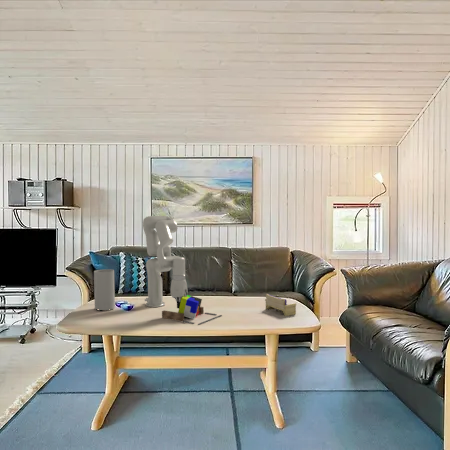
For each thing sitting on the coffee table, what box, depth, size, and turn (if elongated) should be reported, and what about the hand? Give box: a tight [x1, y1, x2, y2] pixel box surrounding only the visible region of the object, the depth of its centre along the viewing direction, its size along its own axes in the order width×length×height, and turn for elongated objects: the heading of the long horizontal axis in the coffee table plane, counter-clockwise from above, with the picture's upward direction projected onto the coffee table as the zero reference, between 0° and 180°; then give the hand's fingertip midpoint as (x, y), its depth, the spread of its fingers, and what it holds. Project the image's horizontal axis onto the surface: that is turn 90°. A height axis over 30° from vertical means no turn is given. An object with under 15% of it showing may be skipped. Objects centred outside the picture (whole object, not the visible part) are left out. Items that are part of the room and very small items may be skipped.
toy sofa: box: [264, 293, 297, 317], centre depth 249 cm, size 21×9×10 cm, turn 30°
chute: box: [161, 306, 205, 322], centre depth 242 cm, size 15×21×4 cm
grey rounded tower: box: [93, 268, 116, 311], centre depth 260 cm, size 12×12×25 cm
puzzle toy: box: [177, 294, 203, 320], centre depth 239 cm, size 10×10×10 cm
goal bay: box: [181, 312, 223, 326], centre depth 234 cm, size 12×23×1 cm, turn 147°
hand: (179, 307), depth 243 cm, fingers closed
